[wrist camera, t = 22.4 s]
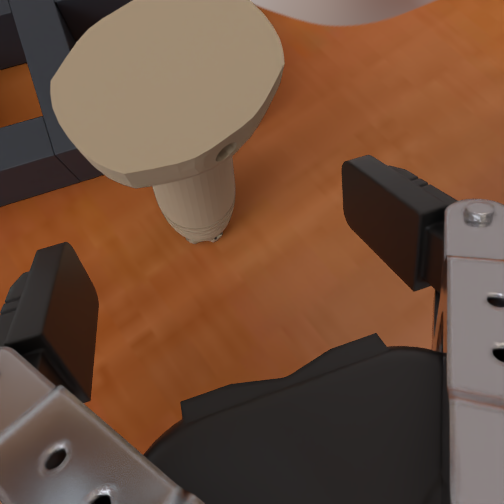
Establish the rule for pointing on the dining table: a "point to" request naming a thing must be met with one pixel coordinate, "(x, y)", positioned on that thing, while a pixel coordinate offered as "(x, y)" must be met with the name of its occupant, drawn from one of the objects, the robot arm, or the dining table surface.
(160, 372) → the dining table surface
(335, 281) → the dining table surface
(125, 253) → the dining table surface
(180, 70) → the handle
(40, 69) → the tool holder
